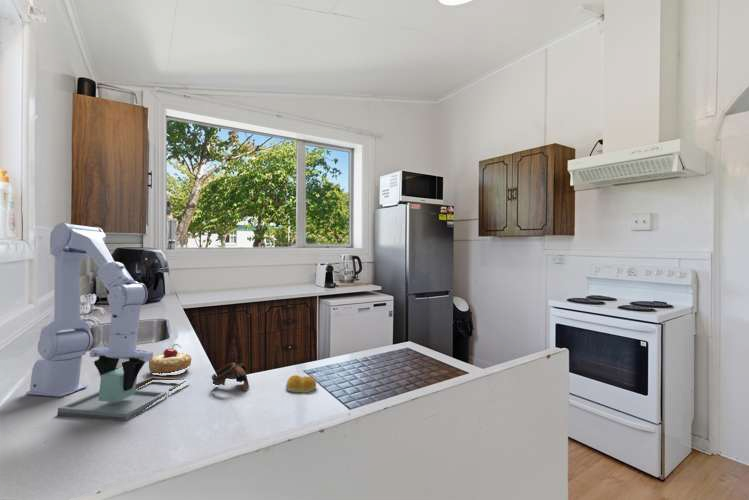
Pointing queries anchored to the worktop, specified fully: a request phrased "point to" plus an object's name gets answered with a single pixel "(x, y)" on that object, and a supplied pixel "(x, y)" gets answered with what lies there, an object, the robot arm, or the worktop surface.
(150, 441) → the worktop surface
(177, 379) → the dark bent strip
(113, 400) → the teal block
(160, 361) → the pastry
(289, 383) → the bread roll
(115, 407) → the grey tray
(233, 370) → the brown piece
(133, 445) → the worktop surface
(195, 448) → the worktop surface
